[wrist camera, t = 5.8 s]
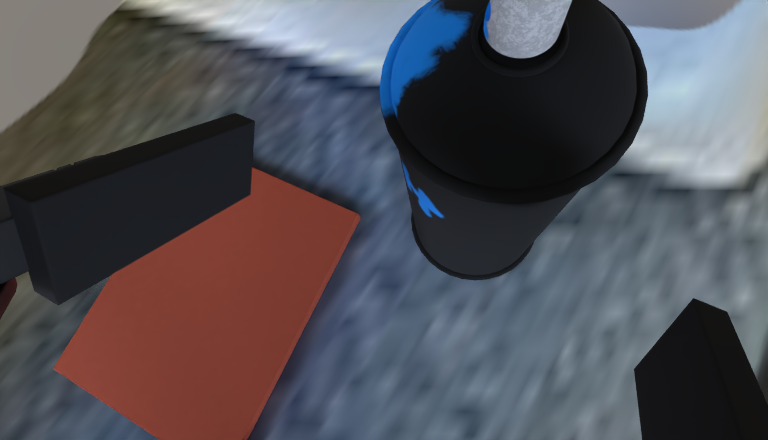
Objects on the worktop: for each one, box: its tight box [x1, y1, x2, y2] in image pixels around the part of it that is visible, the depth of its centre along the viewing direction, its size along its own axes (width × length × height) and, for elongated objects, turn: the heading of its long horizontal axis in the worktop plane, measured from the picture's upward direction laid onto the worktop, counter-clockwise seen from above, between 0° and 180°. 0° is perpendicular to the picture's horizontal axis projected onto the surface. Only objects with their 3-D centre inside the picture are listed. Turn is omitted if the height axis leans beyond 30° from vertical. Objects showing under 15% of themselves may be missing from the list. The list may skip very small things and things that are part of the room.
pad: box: [54, 167, 361, 440], centre depth 29 cm, size 14×18×1 cm
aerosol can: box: [380, 0, 648, 280], centre depth 19 cm, size 8×8×20 cm
